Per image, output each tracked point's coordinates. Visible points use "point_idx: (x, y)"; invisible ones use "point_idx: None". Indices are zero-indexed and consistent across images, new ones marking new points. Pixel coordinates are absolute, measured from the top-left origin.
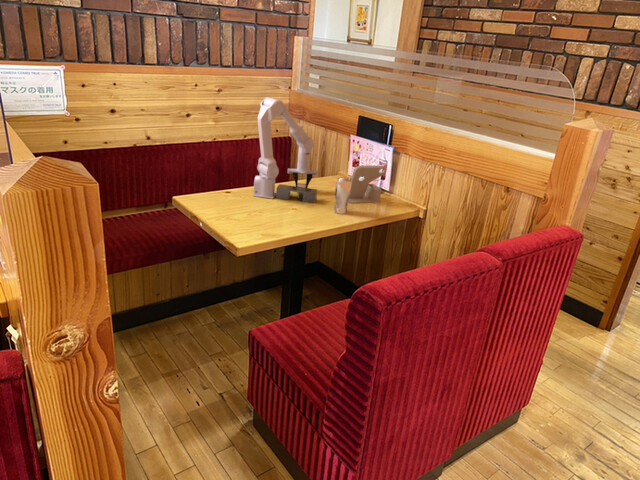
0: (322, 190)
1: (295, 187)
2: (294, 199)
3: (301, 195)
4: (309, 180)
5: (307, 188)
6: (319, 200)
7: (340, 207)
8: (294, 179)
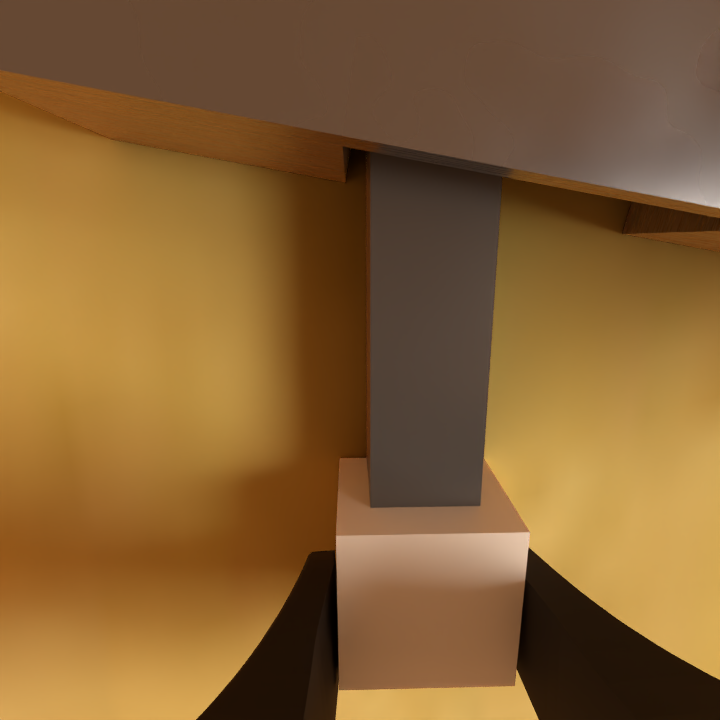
0: (67, 663)
1: (697, 73)
2: None
3: None
4: (230, 709)
5: (272, 76)
6: None
7: None
8: (706, 675)
